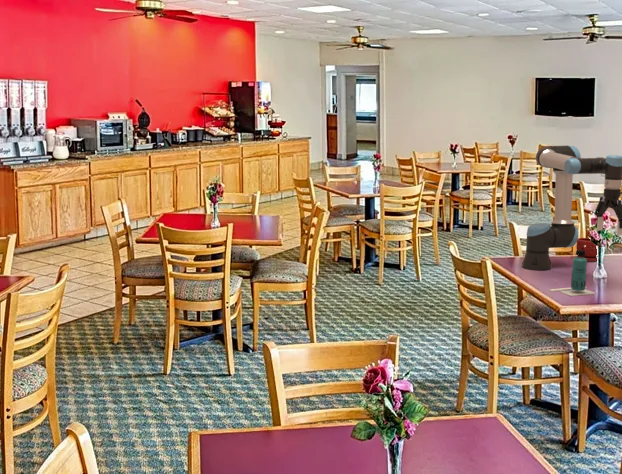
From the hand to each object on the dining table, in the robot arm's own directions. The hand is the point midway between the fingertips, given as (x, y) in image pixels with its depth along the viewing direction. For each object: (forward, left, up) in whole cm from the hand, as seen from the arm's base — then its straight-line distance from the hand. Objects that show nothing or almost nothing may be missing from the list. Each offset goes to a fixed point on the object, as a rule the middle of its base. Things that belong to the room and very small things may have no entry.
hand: (609, 232), depth 377 cm
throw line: (-2, -20, -27) cm, 33 cm away
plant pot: (-55, +34, -27) cm, 70 cm away
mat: (+5, -20, -27) cm, 34 cm away
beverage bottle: (+5, -20, -26) cm, 34 cm away
